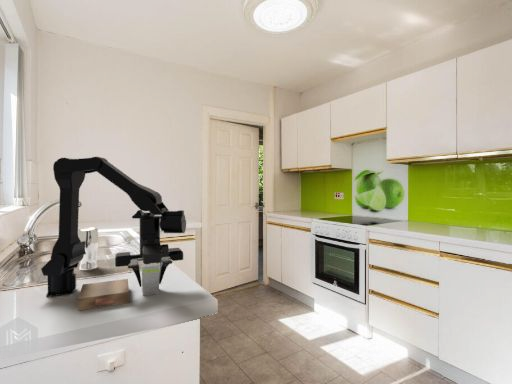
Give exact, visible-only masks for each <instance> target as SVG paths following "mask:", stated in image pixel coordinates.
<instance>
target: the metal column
mask: <svg viewBox="0 0 512 384" xmlns="http://www.w3.org/2000/svg"><path fill="white" fill-rule="evenodd" d="M159 267H160V265H159V263H150V264H144V263H142V264H141V293H142V296H151V295H157V294H160V284H159Z"/></svg>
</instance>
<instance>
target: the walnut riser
mask: <svg viewBox="0 0 512 384" xmlns="http://www.w3.org/2000/svg"><path fill="white" fill-rule="evenodd" d="M129 289H130V288H129V279H128V278H125V279H124V278H122V279H115V280H106V281H99V282H92V283H83V284H82V285H81V287H80V291H79V294H78V297H77V311H82V310H83V311H84V310H90V309H96V308H103V307H104V308H105V307H108V306H116V305H121V304H122V305H123V304H127V303H128V304H129V303H130V290H129Z"/></svg>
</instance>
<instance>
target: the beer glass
mask: <svg viewBox="0 0 512 384" xmlns="http://www.w3.org/2000/svg"><path fill="white" fill-rule="evenodd" d="M78 237H79V239H80V241H81V242H82V241H85V242H86V245H85V252H86V254H84V256H83V259H82V260H81V261H80V262H79V268H78V269H79V271H92V270H96V269H97V268H98V262H97V254H98V248H99V229H98V228H97V227H87V228H80V229H79V228H78Z"/></svg>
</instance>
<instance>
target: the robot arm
mask: <svg viewBox="0 0 512 384" xmlns="http://www.w3.org/2000/svg"><path fill="white" fill-rule="evenodd" d="M52 167H53V168H52V170H53V175H54V177H53V178H54V180H55V182H56V184H57V186H58V188H59V208H58V213H59V214H58V218H59V219H58V236H57V240H56V241H55V242H54V245H53V247H52V251H51V255H50V259H49V260H48V261H47V262H46V264H44V266H42V267H41V269H40V270H41V273H42V275H43V276H47V293H46V297H55V296H64V295H70V294H73V293H74V291H75V290H76V289H77V287H78V286H77V285H78V284H77V273H75V269H76V268H78V266H79V265H80V261H81V260H82V259H83V256H84V254H86V252H85V245H86V242H85V241H82V242H81V241H80V239H79V237H78V230H79V210H80V206H79V205H80V189H81V187H82V185H83V182H84V181H85V178H86V174H92V173H95V172H97V173H98V174H99V175H101V176H102V177H103V178H105V179H106V180H107V181H109V182H110V183H111V184H113V185H114V186H116V187H117V188H119V189H120V190H121V191H122V192H124V193H125V194H126V195H127V196H128V197H129V199H130V200H131V201H132V203H133V204H134V205H135V206H136V207H137V208H138V209H139V210H136V213H134V214H133V215H132V216H131V219H139V253H138V254H131V251H126V252H125V251H123V252H117V253H116V254H115V257H114V258H115V263H114V265H115V267H116V268H120V267H127V268H128V269H132V270H133V272H134V274H135V276H136V281H137V282H138V285H139V287H140V288H142V275H141V271H140V265H139V262H140V261H141V262H143V263H142V264H151V263H158V264H159V285H161V284H162V282H163V278H164V275H165V272H166V270H167V268H168V267H169V265H171V264H173V262H176V261H177V262H178V261H184V252H183V250H182V249H181V248H180V247H169V244H168V243H165V244H164V243H163V244H161V231H162V232H163V233H164V234H185V232H186V229H187V219H186V215H185V210H183V209H182V210H169V208H167V206H166V205H165V203H164V202H163V199H162V195H161V194H160V193H159V192H157V191H155V190H154V189H152V188H150V187H147V186H144V185H142V184H140V183H138V182H137V181H135V180H134V179H133V178H131V177H130V176H129V175H127V174H126V173H124V172H123V171H122V170H120V169H119V168H117V167H116V166H114V165H113V164H112V163H111V162H109V161H108V159H107V158H105V157H99V156H92V157H85V158H69V157H60V158H58V159H57V160H56V161H54V163H53V165H52Z"/></svg>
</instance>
